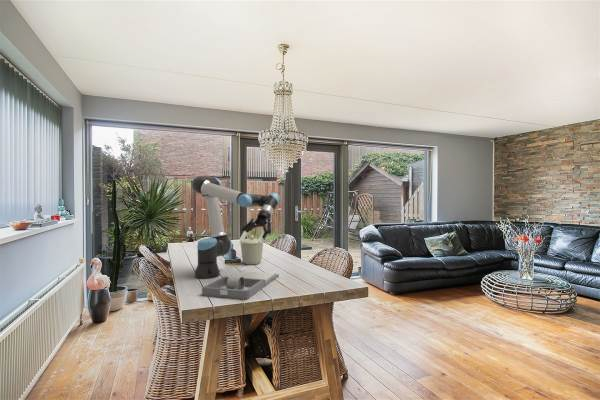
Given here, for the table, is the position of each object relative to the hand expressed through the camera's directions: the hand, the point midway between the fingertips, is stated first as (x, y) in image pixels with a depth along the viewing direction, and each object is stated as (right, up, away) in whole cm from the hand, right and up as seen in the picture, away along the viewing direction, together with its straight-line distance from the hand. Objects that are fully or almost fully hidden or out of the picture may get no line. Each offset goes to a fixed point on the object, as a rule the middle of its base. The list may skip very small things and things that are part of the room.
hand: (250, 241), depth 185 cm
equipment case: (-3, -25, 0) cm, 25 cm away
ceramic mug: (-7, -25, -11) cm, 28 cm away
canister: (-8, -24, +59) cm, 64 cm away
